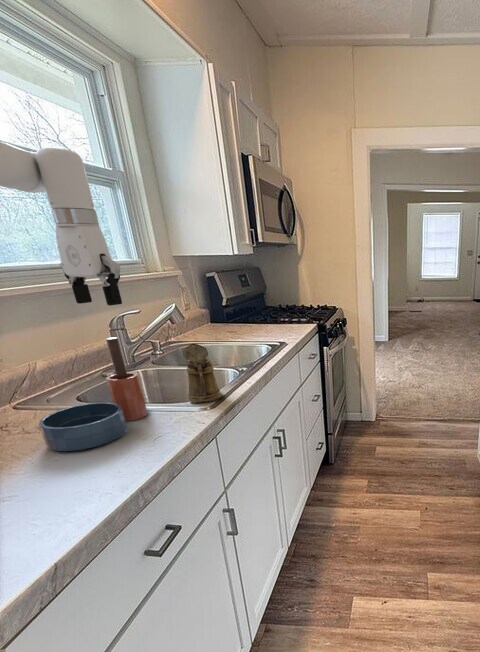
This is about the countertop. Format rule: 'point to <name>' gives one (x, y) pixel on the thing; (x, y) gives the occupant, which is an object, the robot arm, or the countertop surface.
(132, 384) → the holder
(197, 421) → the countertop surface
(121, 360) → the stick
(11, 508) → the countertop surface
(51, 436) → the bowl
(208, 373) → the wooden mug
